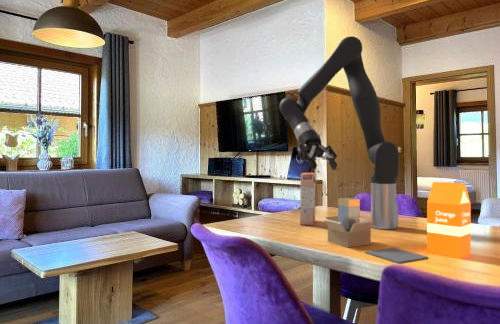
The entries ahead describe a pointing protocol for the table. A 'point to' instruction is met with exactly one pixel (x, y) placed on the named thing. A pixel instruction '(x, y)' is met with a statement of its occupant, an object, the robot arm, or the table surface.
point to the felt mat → (396, 255)
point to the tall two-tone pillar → (348, 212)
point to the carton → (354, 237)
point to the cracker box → (307, 199)
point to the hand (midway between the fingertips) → (325, 167)
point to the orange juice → (449, 220)
